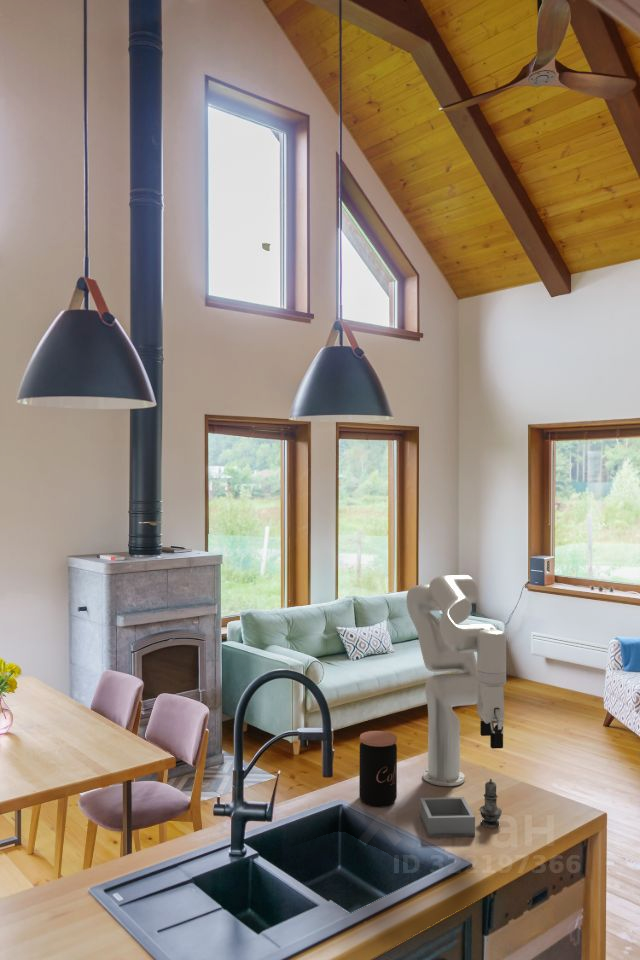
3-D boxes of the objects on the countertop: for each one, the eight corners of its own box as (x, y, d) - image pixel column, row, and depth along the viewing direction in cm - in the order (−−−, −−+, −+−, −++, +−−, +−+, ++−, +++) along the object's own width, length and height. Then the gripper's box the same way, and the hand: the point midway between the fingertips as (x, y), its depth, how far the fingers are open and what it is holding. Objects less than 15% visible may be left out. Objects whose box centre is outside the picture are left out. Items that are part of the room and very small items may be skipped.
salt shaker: (502, 829, 200) (502, 783, 200) (479, 827, 201) (479, 782, 201) (501, 819, 206) (501, 775, 206) (479, 817, 207) (479, 773, 207)
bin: (419, 816, 208) (420, 798, 208) (463, 815, 208) (463, 797, 208) (428, 837, 196) (428, 818, 196) (475, 836, 196) (475, 817, 196)
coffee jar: (378, 811, 211) (378, 746, 210) (351, 799, 219) (351, 736, 218) (404, 800, 218) (404, 737, 217) (377, 788, 226) (377, 728, 225)
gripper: (469, 669, 212) (469, 731, 212) (486, 686, 194) (486, 753, 194) (496, 668, 212) (496, 730, 212) (515, 685, 195) (515, 753, 195)
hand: (491, 741), depth 203 cm, fingers open, 9 cm apart
